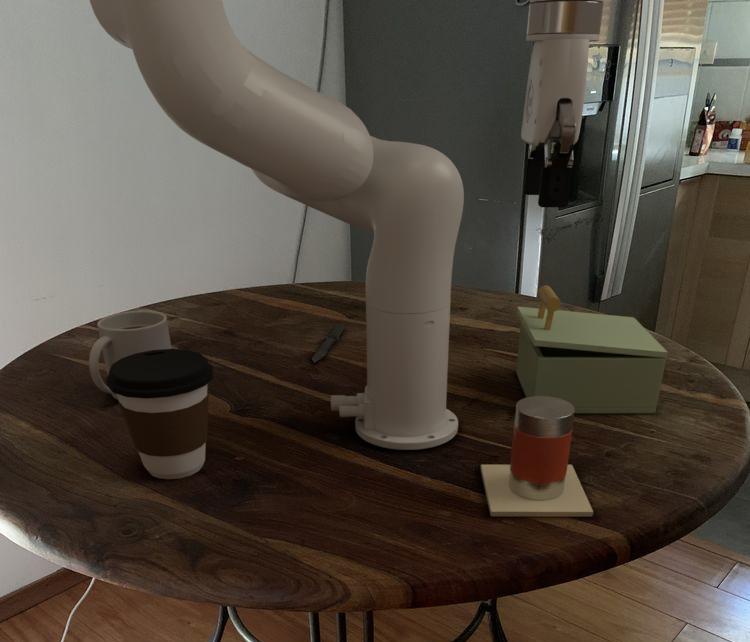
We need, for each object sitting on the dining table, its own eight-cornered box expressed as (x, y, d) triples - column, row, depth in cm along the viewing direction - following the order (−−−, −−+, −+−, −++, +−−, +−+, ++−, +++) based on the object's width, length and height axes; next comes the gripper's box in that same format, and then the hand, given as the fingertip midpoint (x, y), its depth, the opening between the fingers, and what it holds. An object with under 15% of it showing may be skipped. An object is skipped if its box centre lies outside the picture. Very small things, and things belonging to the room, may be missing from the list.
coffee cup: (120, 454, 85) (100, 354, 79) (214, 438, 88) (202, 342, 82) (130, 498, 76) (108, 390, 70) (234, 478, 80) (222, 373, 74)
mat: (490, 516, 72) (491, 511, 72) (480, 469, 81) (480, 464, 81) (592, 516, 72) (593, 511, 72) (571, 469, 81) (572, 464, 80)
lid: (533, 346, 89) (541, 305, 87) (516, 312, 102) (523, 275, 100) (666, 358, 90) (678, 318, 87) (632, 322, 102) (642, 286, 100)
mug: (173, 375, 107) (162, 307, 102) (182, 399, 99) (171, 326, 94) (95, 386, 104) (80, 316, 99) (98, 411, 96) (82, 336, 91)
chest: (532, 413, 94) (538, 358, 90) (516, 373, 107) (520, 323, 103) (655, 413, 94) (666, 358, 90) (624, 372, 106) (632, 323, 102)
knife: (332, 322, 125) (349, 321, 125) (332, 327, 126) (349, 325, 125) (305, 360, 111) (324, 359, 110) (306, 365, 111) (325, 364, 110)
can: (512, 500, 74) (520, 418, 69) (504, 474, 79) (511, 395, 74) (569, 501, 74) (581, 418, 69) (558, 474, 79) (568, 395, 74)
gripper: (515, 29, 84) (502, 190, 93) (542, 19, 69) (523, 212, 78) (581, 30, 84) (561, 190, 93) (622, 19, 69) (594, 212, 78)
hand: (544, 200), depth 85 cm, fingers open, 9 cm apart
